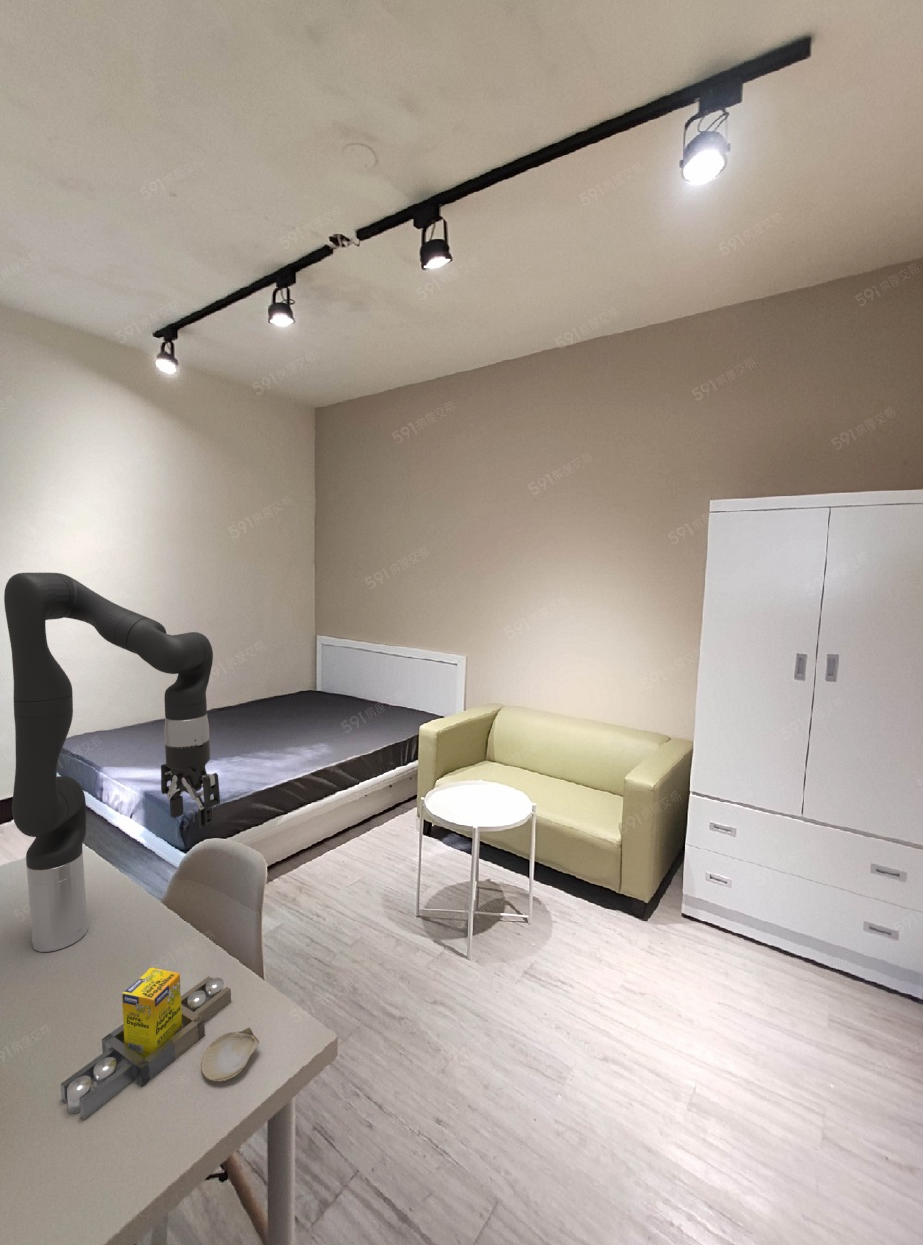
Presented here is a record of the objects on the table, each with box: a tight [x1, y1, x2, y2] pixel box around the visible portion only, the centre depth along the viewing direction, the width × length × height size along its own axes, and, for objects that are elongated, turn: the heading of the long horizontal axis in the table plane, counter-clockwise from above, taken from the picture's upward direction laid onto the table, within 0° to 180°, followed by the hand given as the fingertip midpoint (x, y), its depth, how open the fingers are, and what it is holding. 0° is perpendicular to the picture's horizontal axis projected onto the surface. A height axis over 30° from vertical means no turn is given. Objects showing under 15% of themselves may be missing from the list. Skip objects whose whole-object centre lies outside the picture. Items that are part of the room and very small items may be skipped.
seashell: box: [200, 1027, 260, 1083], centre depth 85 cm, size 8×3×8 cm
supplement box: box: [121, 967, 182, 1059], centre depth 88 cm, size 6×6×11 cm
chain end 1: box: [60, 1023, 176, 1121], centre depth 83 cm, size 10×12×3 cm
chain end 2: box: [170, 976, 232, 1061], centre depth 93 cm, size 10×12×3 cm
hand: (191, 821), depth 105 cm, fingers open, 8 cm apart
